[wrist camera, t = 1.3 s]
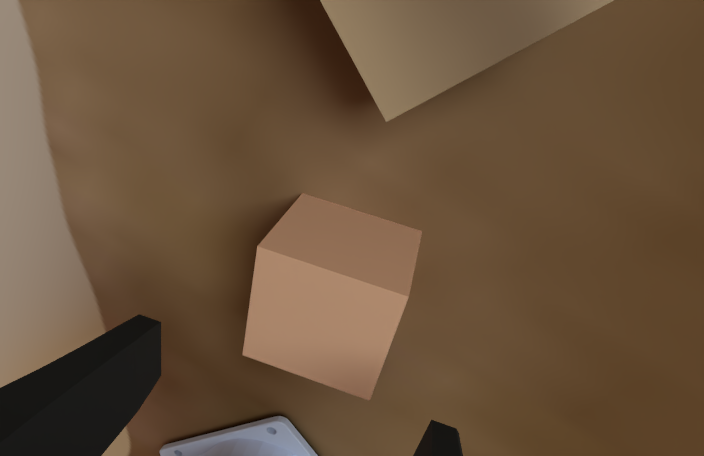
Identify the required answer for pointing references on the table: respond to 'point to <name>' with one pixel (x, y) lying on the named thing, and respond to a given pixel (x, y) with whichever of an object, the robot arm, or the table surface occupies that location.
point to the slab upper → (440, 40)
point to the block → (330, 293)
